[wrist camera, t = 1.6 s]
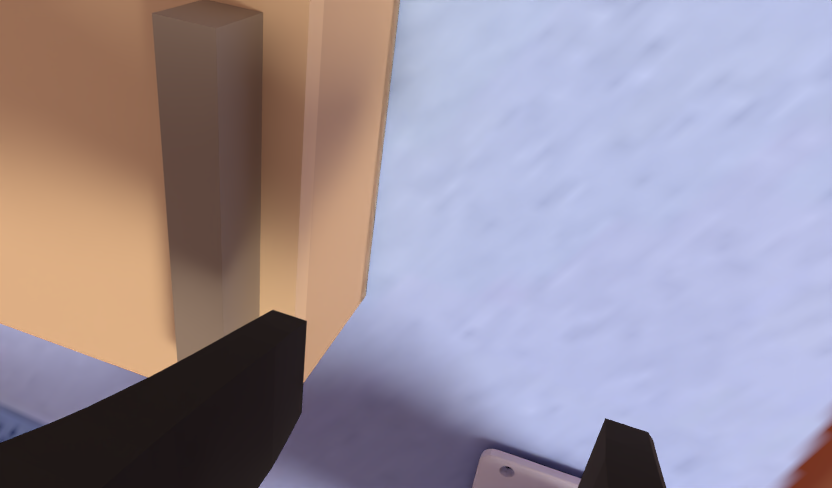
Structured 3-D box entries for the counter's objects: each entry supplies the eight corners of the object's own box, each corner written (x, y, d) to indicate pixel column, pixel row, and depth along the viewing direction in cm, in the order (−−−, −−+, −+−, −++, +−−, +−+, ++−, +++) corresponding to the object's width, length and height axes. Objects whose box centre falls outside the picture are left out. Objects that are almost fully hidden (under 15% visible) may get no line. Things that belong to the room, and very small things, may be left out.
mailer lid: (328, -60, 11) (267, -48, 10) (299, 413, 18) (259, 472, 16) (-214, -167, 14) (-339, -173, 12) (-75, 278, 20) (-146, 317, 18)
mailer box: (407, -67, 16) (318, -47, 12) (365, 295, 22) (295, 394, 18) (6, -143, 19) (-184, -148, 14) (63, 201, 24) (-61, 268, 20)
